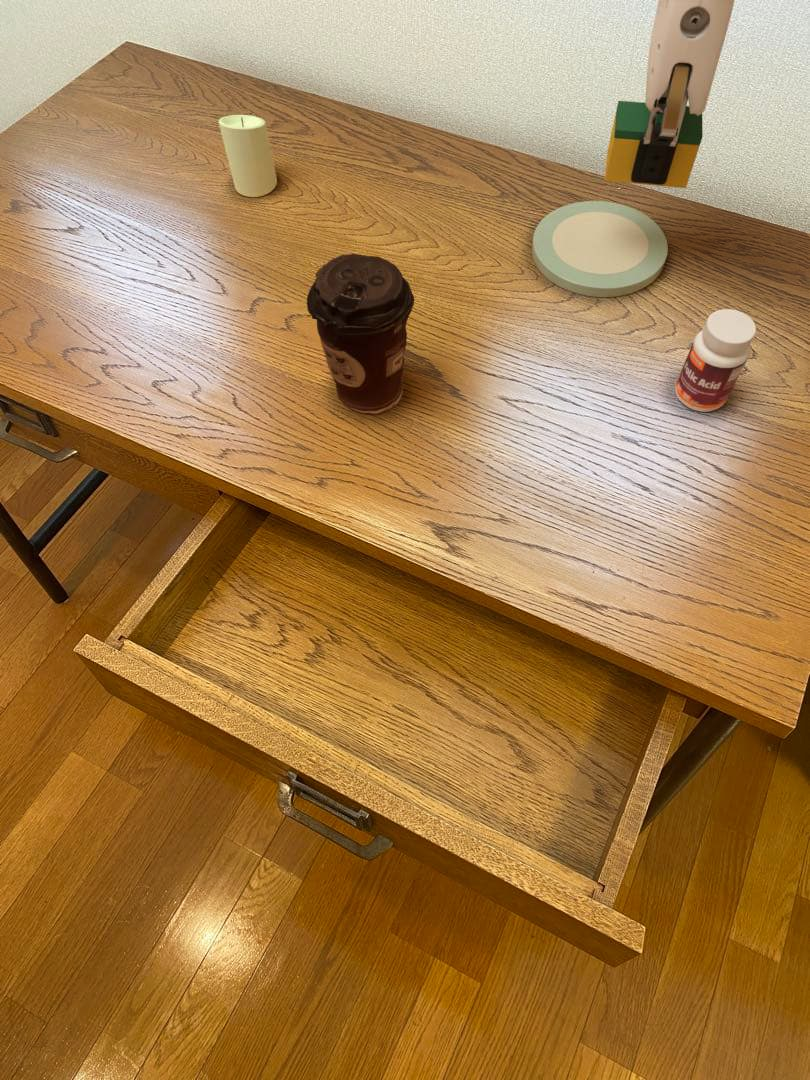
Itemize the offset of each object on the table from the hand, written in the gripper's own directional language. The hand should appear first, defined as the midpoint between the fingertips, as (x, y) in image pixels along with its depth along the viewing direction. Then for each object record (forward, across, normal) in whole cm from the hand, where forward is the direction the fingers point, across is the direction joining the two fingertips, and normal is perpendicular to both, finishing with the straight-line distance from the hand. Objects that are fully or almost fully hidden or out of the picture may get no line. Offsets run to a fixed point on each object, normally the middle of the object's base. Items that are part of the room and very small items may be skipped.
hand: (649, 162), depth 70 cm
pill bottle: (+10, -19, -8) cm, 23 cm away
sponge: (+1, 0, 0) cm, 1 cm away
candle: (+11, +6, +43) cm, 44 cm away
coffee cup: (+10, -23, +23) cm, 34 cm away
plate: (+10, 0, +3) cm, 11 cm away
